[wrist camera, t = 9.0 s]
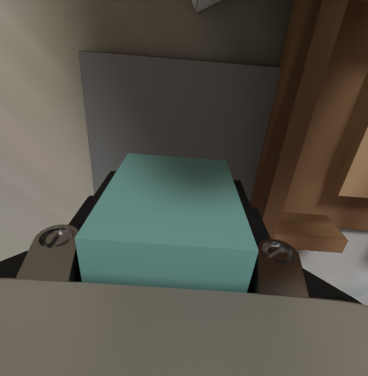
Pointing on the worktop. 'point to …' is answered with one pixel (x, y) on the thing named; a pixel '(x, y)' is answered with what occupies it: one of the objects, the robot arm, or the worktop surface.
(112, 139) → the slate pad
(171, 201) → the teal block
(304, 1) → the crate
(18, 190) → the worktop surface
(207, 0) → the tea box
